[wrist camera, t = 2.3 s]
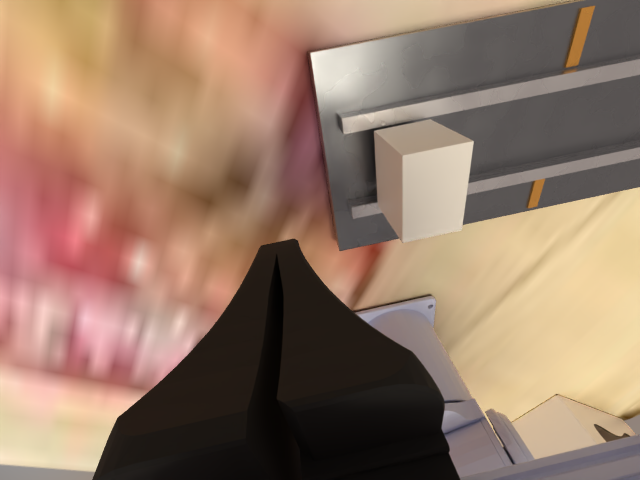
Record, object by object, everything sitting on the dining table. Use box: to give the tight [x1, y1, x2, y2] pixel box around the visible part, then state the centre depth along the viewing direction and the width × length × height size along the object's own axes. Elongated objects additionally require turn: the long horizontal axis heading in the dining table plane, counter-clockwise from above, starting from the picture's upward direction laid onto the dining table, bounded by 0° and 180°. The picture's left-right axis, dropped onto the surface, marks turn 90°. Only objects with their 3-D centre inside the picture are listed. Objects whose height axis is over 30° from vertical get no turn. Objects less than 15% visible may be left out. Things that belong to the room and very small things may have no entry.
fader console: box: [307, 0, 640, 251], centre depth 18 cm, size 12×24×2 cm, turn 99°
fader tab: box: [374, 119, 474, 243], centre depth 16 cm, size 4×3×5 cm
